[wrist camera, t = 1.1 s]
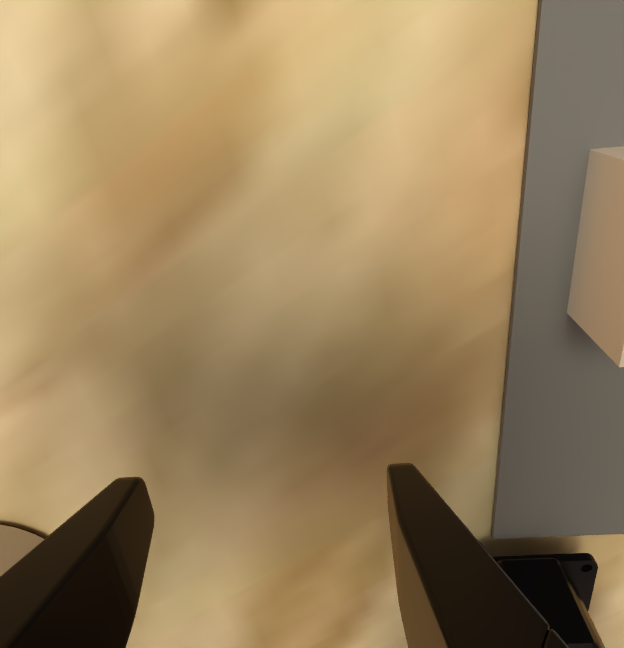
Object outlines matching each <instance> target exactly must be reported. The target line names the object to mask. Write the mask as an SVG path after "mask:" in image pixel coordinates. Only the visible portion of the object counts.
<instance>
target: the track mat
mask: <svg viewBox="0 0 624 648" xmlns="http://www.w3.org/2000/svg"><path fill="white" fill-rule="evenodd" d="M621 146H624V0H539V2H538V13H537V25H536V36H535V47H534V58H533V70H532V81H531V92H530V103H529V115H528V126H527V137H526V149H525V160H524V171H523V182H522V194H521V205H520V216H519V227H518V239H517V250H516V261H515V272H514V284H513V295H512V306H511V318H510V329H509V340H508V351H507V363H506V374H505V385H504V396H503V408H502V419H501V430H500V442H499V453H498V464H497V475H496V487H495V498H494V509H493V520H492V532H491V535H492V538H493V539H509V538H533V537H557V536H580V535H604V534H624V367H618V366H617V365H616V364H615V363H614V362H613V360H612V359H611V358H610V357H609V356H608V355H607V354H606V353H605V352H604V351H603V350H602V349H601V348H600V347H599V346H598V345H597V344H596V343H595V342H594V341H593V340H592V339H591V338H590V336H589V335H588V334H587V333H586V332H585V331H584V330H583V329H582V328H581V327H580V326H579V325H578V324H577V323H576V322H575V321H574V320H573V319H572V318H571V317H570V316H569V315H568V314H567V308H568V301H569V294H570V287H571V280H572V273H573V265H574V258H575V251H576V244H577V237H578V230H579V223H580V216H581V209H582V202H583V194H584V187H585V180H586V173H587V166H588V159H589V152H590V149H598V148H610V147H621Z"/></svg>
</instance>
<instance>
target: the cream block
mask: <svg viewBox="0 0 624 648" xmlns="http://www.w3.org/2000/svg"><path fill="white" fill-rule="evenodd" d="M567 314H568V315H569V316H570V317H571V318H572V319H573V320H574V321H575V322H576V323H577V324H578V325H579V326H580V327H581V328H582V329H583V330H584V331H585V332H586V333H587V334H588V335H589V336H590V338H591V339H592V340H593V341H594V342H595V343H596V344H597V345H598V346H599V347H600V348H601V349H602V350H603V351H604V352H605V353H606V354H607V355H608V356H609V357H610V358H611V359H612V360H613V362H614V363H615V364H616V365H617V366H618V367H624V146H621V147H610V148H598V149H590V152H589V159H588V166H587V173H586V180H585V187H584V194H583V202H582V209H581V216H580V223H579V230H578V237H577V244H576V251H575V258H574V265H573V273H572V280H571V287H570V294H569V301H568V308H567Z"/></svg>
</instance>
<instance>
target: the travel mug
mask: <svg viewBox="0 0 624 648" xmlns="http://www.w3.org/2000/svg"><path fill="white" fill-rule="evenodd" d="M43 540H44V539H43V538H41V537H39V536H37V535H35V534H32V533H30V532H27V531H24V530H21V529H18V528H14V527H10V526H5V525H0V576H1V575H2V574H4V573H5V572H6V571H7V570H8V569H10V568H11V567H12V566H13V565H14V564H16V563H17V562H18V561H19V560H20V559H21V558H23V557H24V556H25V555H26V554H27V553H29V552H30V551H31V550H32V549H33V548H35V547H36V546H37V545H38V544H39V543H41V542H42V541H43Z"/></svg>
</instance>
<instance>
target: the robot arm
mask: <svg viewBox="0 0 624 648" xmlns="http://www.w3.org/2000/svg"><path fill="white" fill-rule="evenodd" d="M387 491H388V511H389V521H390V530H391V539H392V548H393V557H394V566H395V575H396V584H397V593H398V600H399V607H400V612H401V616H402V621H403V626H404V630H405V635H406V639H407V643H408V648H605V647H604V645H603V642H602V640H601V638H600V636H599V634H598V632H597V630H596V628H595V626H594V624H593V621H592V619H591V617H590V615H589V613H588V609H589V605H590V600H591V596H592V591H593V587H594V582H595V578H596V573H597V569H598V565H597V563H596V561H595V559H594V557H593V556H592V555H591V554H588V553H574V554H549V555H525V556H500V557H491V555H490V554H489V553H488V552H487V551H486V550H485V548H484V547H483V546H482V545H481V544H480V543H479V541H478V540H477V539H476V538H475V537H474V535H473V534H472V533H471V532H470V531H469V530H468V528H467V527H466V526H465V525H464V524H463V523H462V521H461V520H460V519H459V518H458V517H457V515H456V514H455V513H454V512H453V511H452V510H451V508H450V507H449V506H448V505H447V504H446V503H445V501H444V500H443V499H442V498H441V497H440V495H439V494H438V493H437V492H436V491H435V490H434V488H433V487H432V486H431V485H430V484H429V483H428V481H427V480H426V479H425V478H424V477H423V475H422V474H421V473H420V472H419V471H418V470H417V468H416V467H415V466H414V465H413V464H411V463H400V464H390V465H388V467H387ZM153 528H154V511H153V508H152V504H151V501H150V498H149V494H148V491H147V488H146V484H145V482H144V480H143V479H142V478H140V477H125V478H118V479H116V480H115V481H113V482H112V483H111V484H110V485H108V486H107V487H106V488H105V489H104V490H102V491H101V492H100V493H99V494H98V495H96V496H95V497H94V498H93V499H92V500H91V501H89V502H88V503H87V504H86V505H85V506H83V507H82V508H81V509H80V510H79V511H77V512H76V513H75V514H74V515H73V516H71V517H70V518H69V519H68V520H67V521H66V522H64V523H63V524H62V525H61V526H60V527H58V528H57V529H56V530H55V531H54V532H52V533H51V534H50V535H49V536H48V537H46V538H45V539H44V540H43V541H42V542H41V543H39V544H38V545H37V546H36V547H35V548H33V549H32V550H31V551H30V552H29V553H27V554H26V555H25V556H24V557H23V558H21V559H20V560H19V561H18V562H17V563H16V564H14V565H13V566H12V567H11V568H10V569H8V570H7V571H6V572H5V573H4V574H2V575H1V576H0V648H126V645H127V642H128V638H129V635H130V632H131V629H132V625H133V622H134V618H135V615H136V610H137V606H138V602H139V597H140V592H141V587H142V582H143V577H144V572H145V567H146V562H147V558H148V553H149V548H150V543H151V538H152V533H153Z"/></svg>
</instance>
